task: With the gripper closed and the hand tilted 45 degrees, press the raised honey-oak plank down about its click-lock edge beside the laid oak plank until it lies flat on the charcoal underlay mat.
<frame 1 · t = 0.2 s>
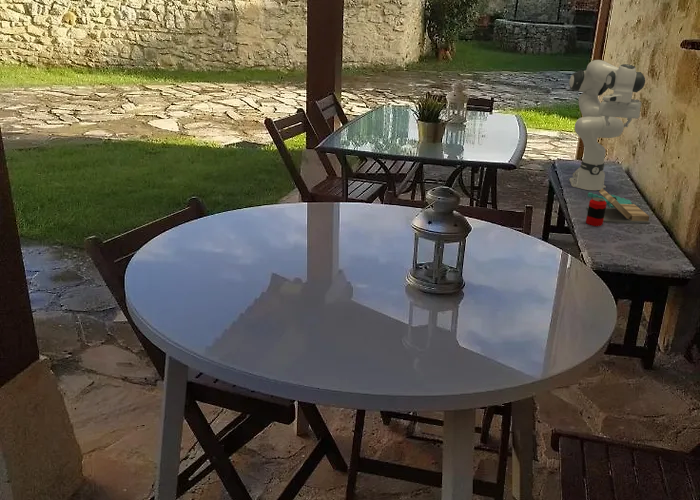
hand: (616, 126, 340), 39 cm above the bench, tool pointing down, fingers open, 8 cm apart
laid plank: (632, 216, 332), resting on underlay mat
alien figure: (609, 204, 351), on the bench
soda can: (594, 224, 320), on the bench
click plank: (615, 203, 329), point 6 cm above the bench, hinge at 40.0°
underlay mat: (617, 216, 331), on the bench
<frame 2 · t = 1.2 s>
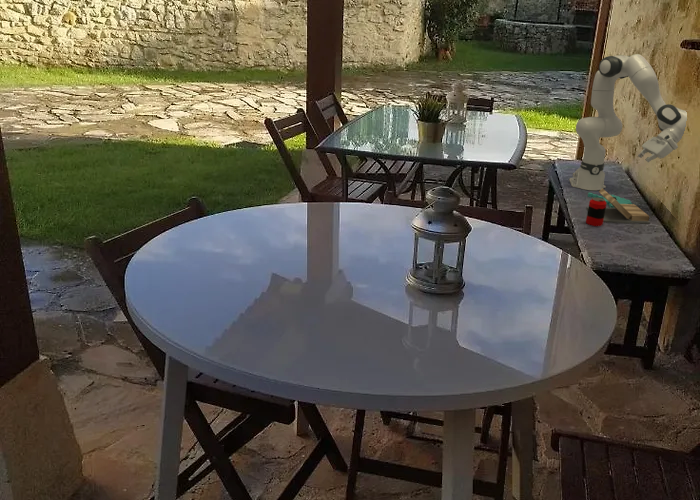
hand: (642, 158, 330), 27 cm above the bench, tool tilted 45°, fingers open, 8 cm apart
nothing on the bench moved.
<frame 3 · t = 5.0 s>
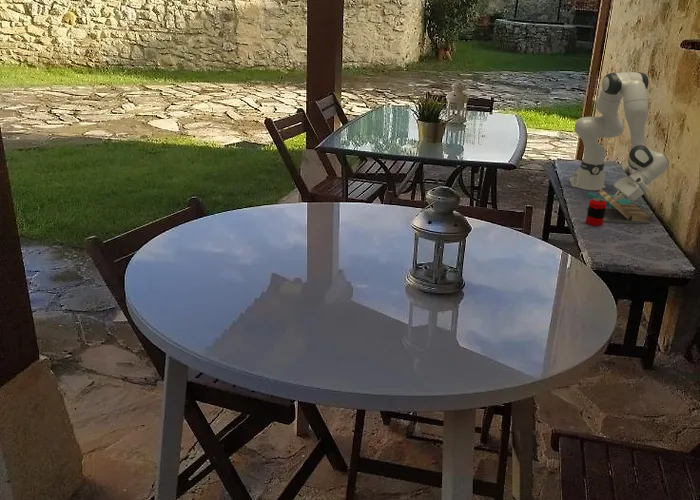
hand: (614, 199, 328), 8 cm above the bench, tool tilted 45°, fingers closed, pressing on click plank
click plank: (614, 203, 329), point 6 cm above the bench, hinge at 37.8°, touching gripper
everything else where it was.
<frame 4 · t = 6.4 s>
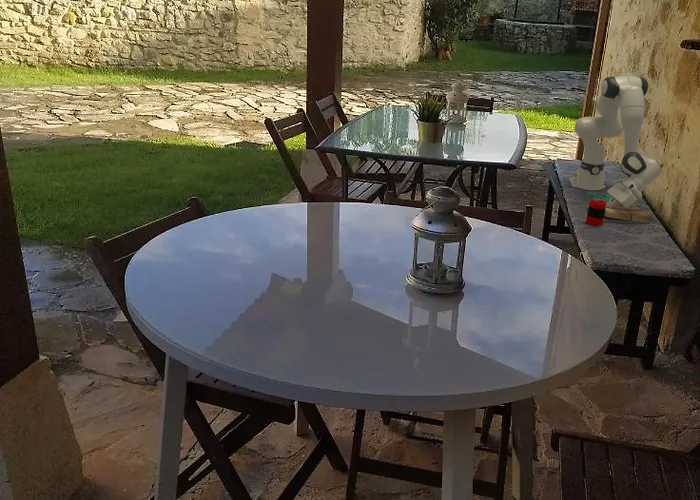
hand: (607, 206, 329), 5 cm above the bench, tool tilted 45°, fingers closed, pressing on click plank
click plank: (612, 210, 330), point 3 cm above the bench, hinge at 6.9°, touching gripper
everything else where it was.
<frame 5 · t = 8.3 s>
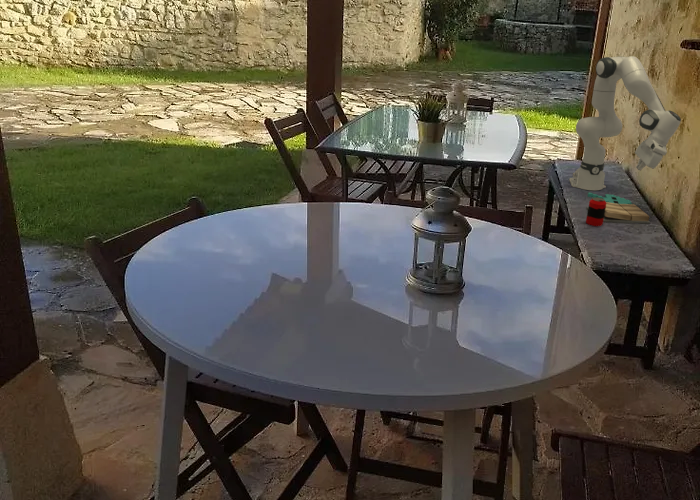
hand: (638, 169, 327), 23 cm above the bench, tool tilted 20°, fingers closed
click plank: (612, 210, 330), point 3 cm above the bench, hinge at 6.9°
everything else where it was.
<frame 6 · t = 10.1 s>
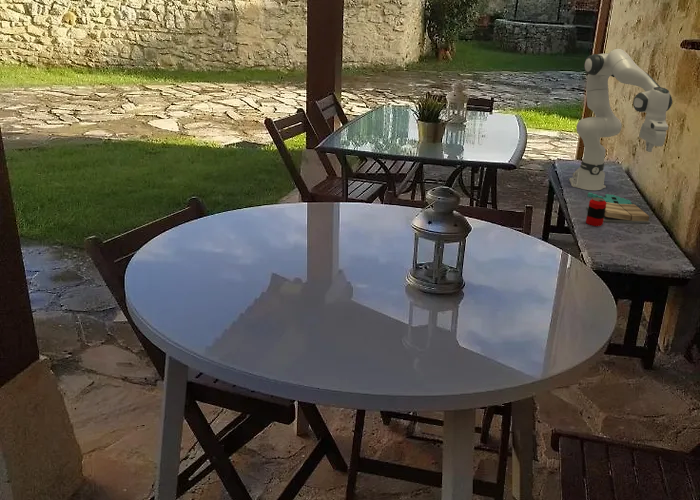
hand: (648, 151, 326), 31 cm above the bench, tool pointing down, fingers closed
nothing on the bench moved.
at the end: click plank at +7° (first picture: +40°); the gripper is holding nothing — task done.
